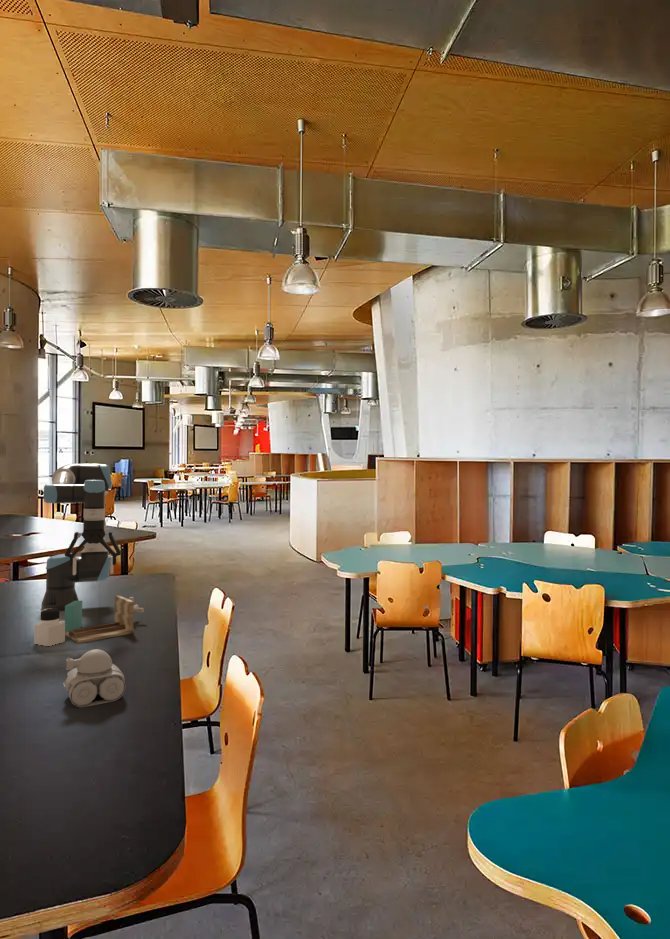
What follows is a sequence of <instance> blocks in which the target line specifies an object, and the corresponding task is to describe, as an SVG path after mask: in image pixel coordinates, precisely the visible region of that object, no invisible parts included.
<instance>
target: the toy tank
mask: <svg viewBox="0 0 670 939" xmlns="http://www.w3.org/2000/svg"><path fill="white" fill-rule="evenodd" d="M65 670H66V671H68V672H67V673H66V675H67V677H66V679H65V681H64V682H62V684H63V687H64V688H65V690H66V691H67V694H68V696H69V699H70V701H71V704H72V705H74V706H75V707H78V708H85V707H90V706H96V705H97V706H98V705H102V704H106V703H112V702H115V701H118V700H119V699H121V698H122V696H123V695H124V693H125V691H126V683H125V681H126V679H125V676H124V674H123V671H121V669H120V668H119V667H118V666H117V665H116V664H114V663H113V660H112V657H111V656H110V655H109V654H108V652H106V651H104V650H103V649H99V648H98V649H97V648H96V649H95V648H94V649H91V650H88V651H87V652H85V653H83V654H82V655H81V657H80V658H77V659H73V658H71V657H67V658H66V659H65ZM97 695H99V696H100V697H101V698H102V699H100V700H95V699H96V697H97ZM94 700H95V701H94Z"/></svg>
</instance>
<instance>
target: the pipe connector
mask: <svg viewBox="0 0 670 939" xmlns="http://www.w3.org/2000/svg"><path fill="white" fill-rule="evenodd" d="M134 598H135V597H134V596H130V597H129V596H128V599H129V600H132V601H134ZM134 602H135V601H134ZM139 606H140V605H139V604H134V613H144V611H145V608H144V607H139Z"/></svg>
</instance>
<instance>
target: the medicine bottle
mask: <svg viewBox="0 0 670 939" xmlns="http://www.w3.org/2000/svg"><path fill="white" fill-rule="evenodd" d="M60 612H61V610H59V609H56V608H49V609H44V610H43V609H41V611H40V618H39V619H40V622H38V623H35V624H34V629H33V630H34V631H33V633H34V635H33V636H34V639H33V643H34V645H35V644H38V645H37V646H40V645H44V646H43V647H45V646H50V647H53V646H55V644H56V645H59V643H60V644H63V643H65V642H66V635H65V621H60ZM52 645H53V646H52Z"/></svg>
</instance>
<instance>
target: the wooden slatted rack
mask: <svg viewBox="0 0 670 939" xmlns="http://www.w3.org/2000/svg"><path fill="white" fill-rule="evenodd" d="M134 605H135V601H132V600H129V598H127V597H124V596H122V595H119V594H117V595H114V622H109V623H104V624H98V625H93V626H88V627H87V626H86V627H80V628H79V629H74V630H69V632H65V637H68V638H69V639H71V640H72V641H74V642H76V643H77V644H82V643H87V642H94V641H97V640H104V639H108V638H109V639H110V638H115V637H120V636H126V635H131V634H134V613H135V612H134Z"/></svg>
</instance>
